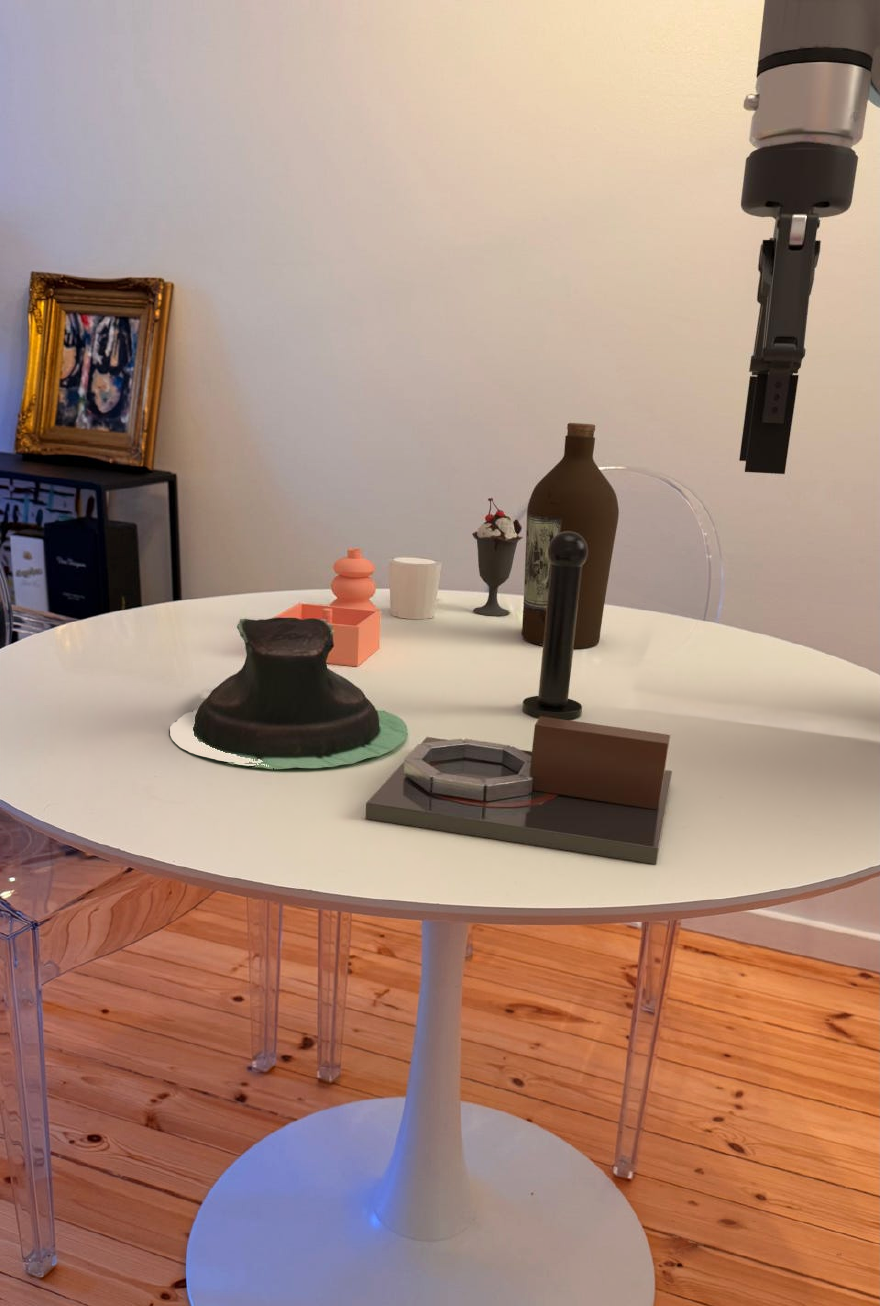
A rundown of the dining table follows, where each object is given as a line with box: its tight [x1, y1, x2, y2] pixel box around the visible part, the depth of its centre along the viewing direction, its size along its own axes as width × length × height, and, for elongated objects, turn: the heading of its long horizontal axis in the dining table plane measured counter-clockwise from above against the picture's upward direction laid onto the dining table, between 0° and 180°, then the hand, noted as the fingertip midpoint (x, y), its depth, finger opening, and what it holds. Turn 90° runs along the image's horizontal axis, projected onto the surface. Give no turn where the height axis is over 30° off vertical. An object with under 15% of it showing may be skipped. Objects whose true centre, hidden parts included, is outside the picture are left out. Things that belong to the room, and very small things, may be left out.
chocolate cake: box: [193, 616, 409, 770], centre depth 91 cm, size 15×19×20 cm
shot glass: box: [388, 556, 443, 620], centre depth 139 cm, size 7×7×7 cm
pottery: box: [272, 547, 382, 667], centre depth 121 cm, size 18×10×10 cm, turn 168°
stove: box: [365, 736, 673, 865], centre depth 80 cm, size 20×16×1 cm
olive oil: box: [521, 422, 620, 649], centre depth 127 cm, size 11×11×25 cm
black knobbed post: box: [521, 531, 588, 721], centre depth 100 cm, size 6×6×17 cm
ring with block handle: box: [404, 716, 671, 810], centre depth 79 cm, size 19×10×5 cm, turn 75°
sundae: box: [471, 497, 524, 617], centre depth 142 cm, size 7×7×15 cm
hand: (759, 467), depth 83 cm, fingers open, 13 cm apart
